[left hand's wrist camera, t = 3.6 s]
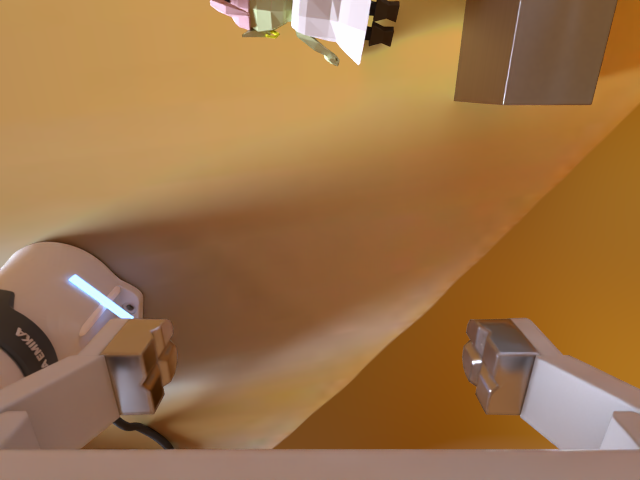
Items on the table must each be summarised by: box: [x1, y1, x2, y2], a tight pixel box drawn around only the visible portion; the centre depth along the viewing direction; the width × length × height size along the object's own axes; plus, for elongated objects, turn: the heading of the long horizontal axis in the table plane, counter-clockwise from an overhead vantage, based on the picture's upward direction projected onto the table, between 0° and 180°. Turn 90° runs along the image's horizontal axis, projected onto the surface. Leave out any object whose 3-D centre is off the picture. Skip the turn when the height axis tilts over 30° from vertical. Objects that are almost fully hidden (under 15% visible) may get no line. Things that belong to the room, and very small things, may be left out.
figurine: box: [210, 0, 400, 66], centre depth 32 cm, size 9×7×15 cm
